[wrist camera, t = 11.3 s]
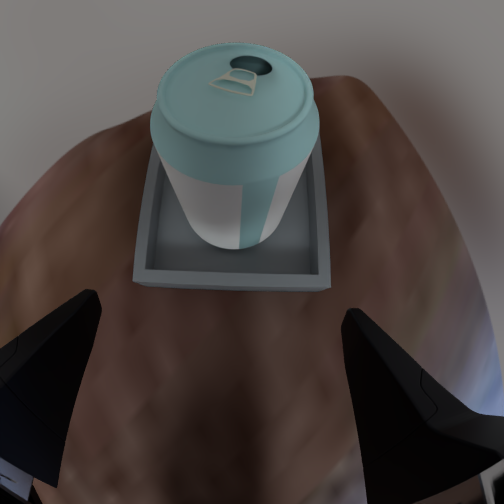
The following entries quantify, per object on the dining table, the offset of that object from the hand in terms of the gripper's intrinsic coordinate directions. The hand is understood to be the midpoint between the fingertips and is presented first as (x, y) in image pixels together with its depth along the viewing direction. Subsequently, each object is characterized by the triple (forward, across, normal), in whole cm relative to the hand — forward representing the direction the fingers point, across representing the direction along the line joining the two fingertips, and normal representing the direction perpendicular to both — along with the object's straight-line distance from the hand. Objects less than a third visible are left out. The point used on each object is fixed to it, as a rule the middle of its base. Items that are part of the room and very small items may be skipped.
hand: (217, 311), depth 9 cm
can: (+12, 0, +2) cm, 13 cm away
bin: (+13, 0, +2) cm, 13 cm away
